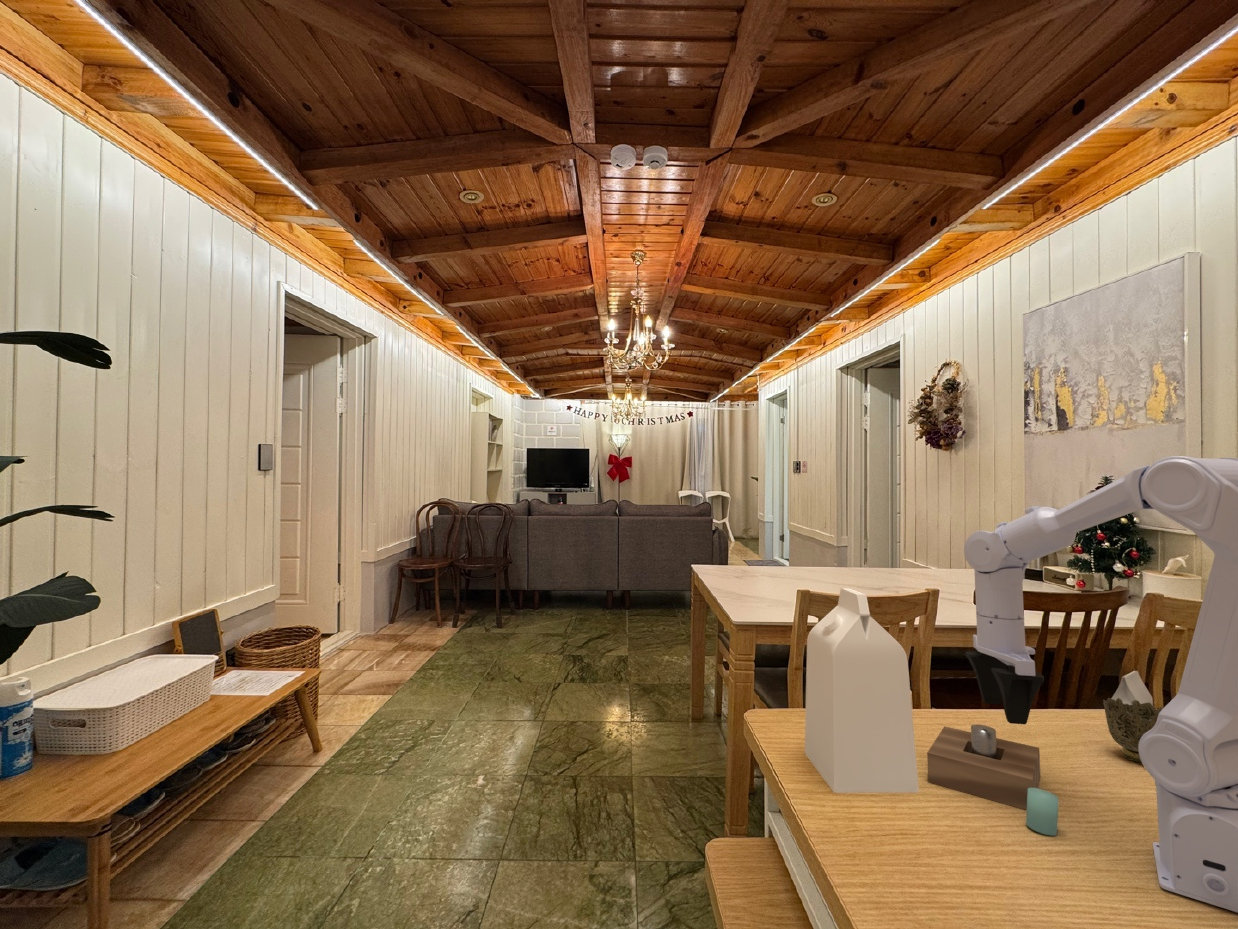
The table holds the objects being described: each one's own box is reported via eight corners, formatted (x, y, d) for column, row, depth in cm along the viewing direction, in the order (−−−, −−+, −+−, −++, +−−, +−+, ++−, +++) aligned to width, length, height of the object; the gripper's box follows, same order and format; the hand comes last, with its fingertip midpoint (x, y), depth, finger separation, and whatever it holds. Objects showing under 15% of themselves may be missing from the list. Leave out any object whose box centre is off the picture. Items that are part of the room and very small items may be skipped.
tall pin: (1002, 785, 79) (1000, 733, 79) (979, 784, 79) (977, 732, 79) (990, 774, 82) (988, 725, 82) (968, 774, 82) (966, 724, 82)
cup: (1113, 764, 85) (1110, 709, 85) (1099, 745, 91) (1097, 694, 92) (1180, 775, 81) (1177, 718, 82) (1161, 755, 88) (1158, 702, 88)
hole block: (1033, 812, 72) (1032, 779, 72) (928, 782, 80) (927, 752, 80) (1040, 776, 81) (1039, 747, 81) (945, 752, 89) (944, 726, 89)
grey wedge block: (1154, 733, 96) (1151, 673, 96) (1141, 743, 92) (1138, 680, 93) (1126, 726, 99) (1123, 668, 100) (1112, 735, 95) (1109, 674, 96)
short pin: (1063, 836, 67) (1065, 801, 67) (1040, 835, 67) (1042, 800, 67) (1042, 821, 70) (1043, 788, 70) (1019, 820, 70) (1021, 787, 70)
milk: (919, 792, 77) (912, 598, 78) (834, 793, 77) (829, 598, 78) (878, 753, 89) (873, 585, 90) (804, 753, 89) (801, 585, 90)
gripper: (1059, 627, 74) (1064, 735, 73) (1007, 607, 88) (1011, 697, 87) (998, 625, 75) (1003, 731, 74) (957, 605, 89) (960, 694, 88)
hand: (1003, 712), depth 81 cm, fingers open, 7 cm apart
